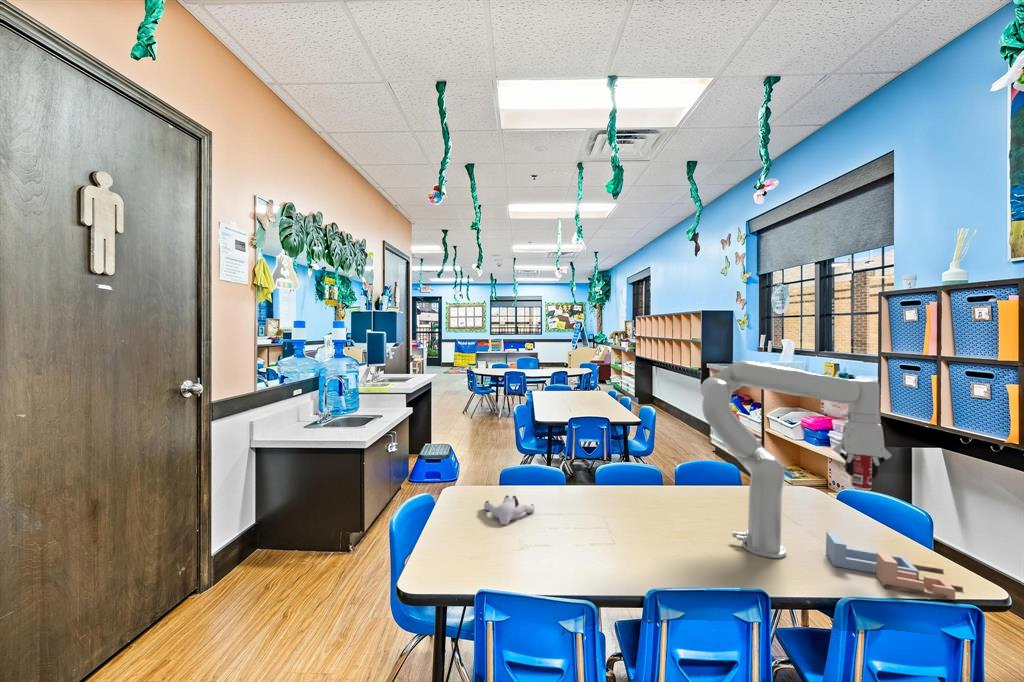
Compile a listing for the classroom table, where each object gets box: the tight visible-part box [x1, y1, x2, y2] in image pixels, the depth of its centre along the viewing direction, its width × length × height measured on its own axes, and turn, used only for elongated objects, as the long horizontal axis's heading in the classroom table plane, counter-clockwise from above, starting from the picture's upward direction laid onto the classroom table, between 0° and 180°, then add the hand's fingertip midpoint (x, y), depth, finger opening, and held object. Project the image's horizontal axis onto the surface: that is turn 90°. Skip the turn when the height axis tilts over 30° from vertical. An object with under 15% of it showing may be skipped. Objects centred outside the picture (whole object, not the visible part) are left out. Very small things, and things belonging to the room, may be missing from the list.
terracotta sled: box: [875, 552, 926, 591], centre depth 128 cm, size 9×6×7 cm, turn 68°
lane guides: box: [883, 563, 964, 601], centre depth 131 cm, size 20×19×1 cm
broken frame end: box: [923, 575, 956, 601], centre depth 125 cm, size 4×6×3 cm
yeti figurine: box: [483, 494, 535, 526], centre depth 172 cm, size 20×7×20 cm
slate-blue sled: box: [825, 530, 920, 579], centre depth 138 cm, size 20×9×7 cm, turn 68°
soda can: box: [850, 455, 873, 491], centre depth 141 cm, size 5×5×12 cm
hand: (861, 475), depth 142 cm, fingers closed on soda can, 5 cm apart
